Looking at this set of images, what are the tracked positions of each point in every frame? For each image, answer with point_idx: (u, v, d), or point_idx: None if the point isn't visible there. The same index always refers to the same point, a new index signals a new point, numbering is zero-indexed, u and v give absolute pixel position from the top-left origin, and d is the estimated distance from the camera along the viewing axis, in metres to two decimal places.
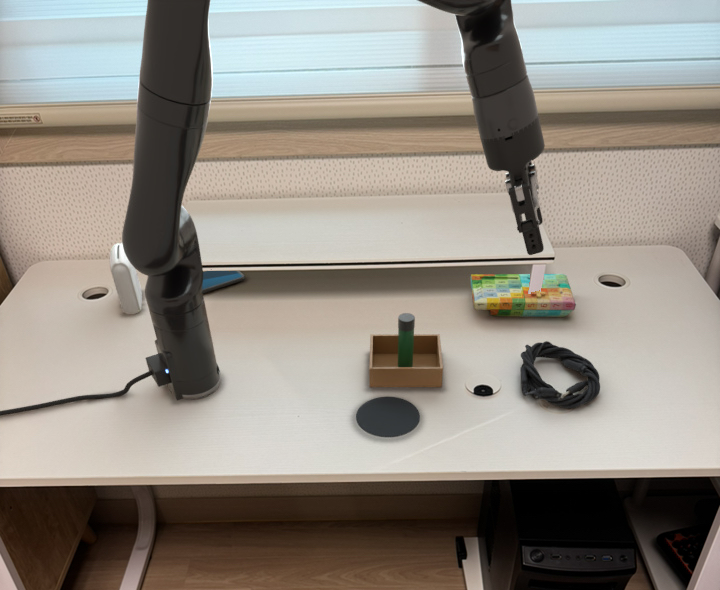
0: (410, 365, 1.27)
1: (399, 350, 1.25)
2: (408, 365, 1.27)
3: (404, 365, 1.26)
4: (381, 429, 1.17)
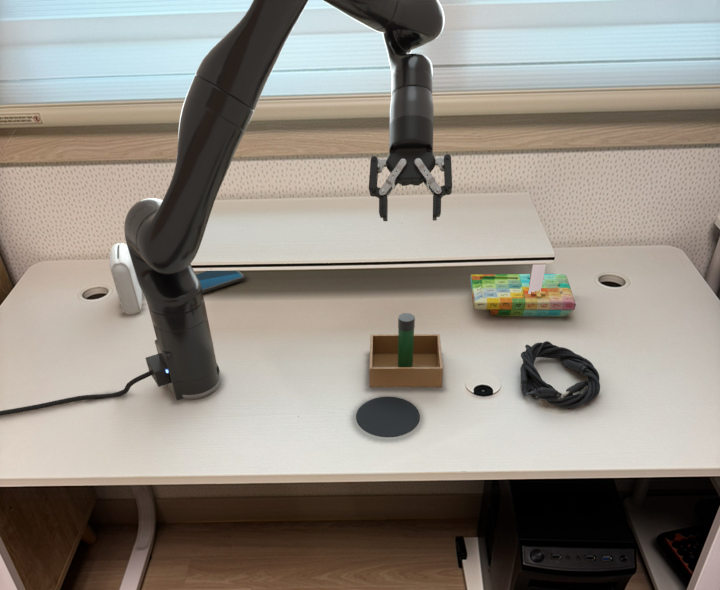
0: (410, 365, 1.27)
1: (399, 350, 1.25)
2: (408, 365, 1.27)
3: (404, 365, 1.26)
4: (381, 429, 1.17)
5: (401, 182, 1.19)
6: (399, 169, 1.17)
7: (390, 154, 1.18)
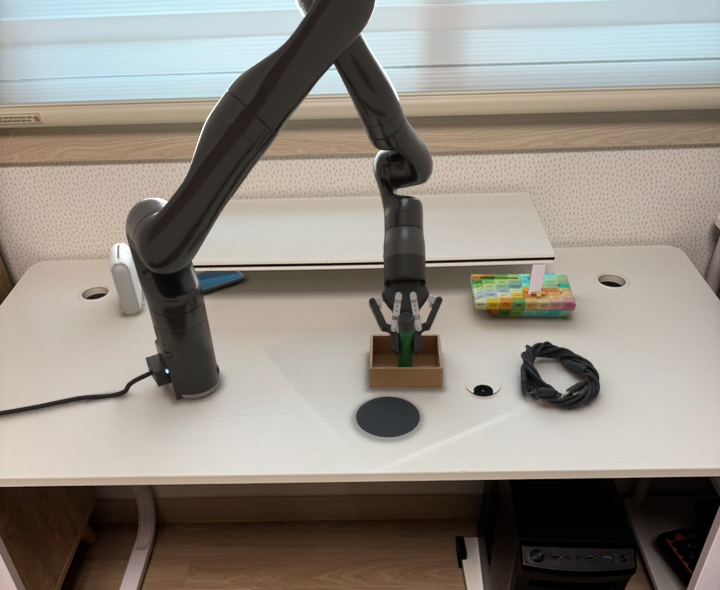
0: (410, 365, 1.27)
1: (399, 350, 1.25)
2: (408, 365, 1.27)
3: (404, 365, 1.26)
4: (381, 429, 1.17)
5: None
6: (398, 303, 1.22)
7: (386, 287, 1.23)
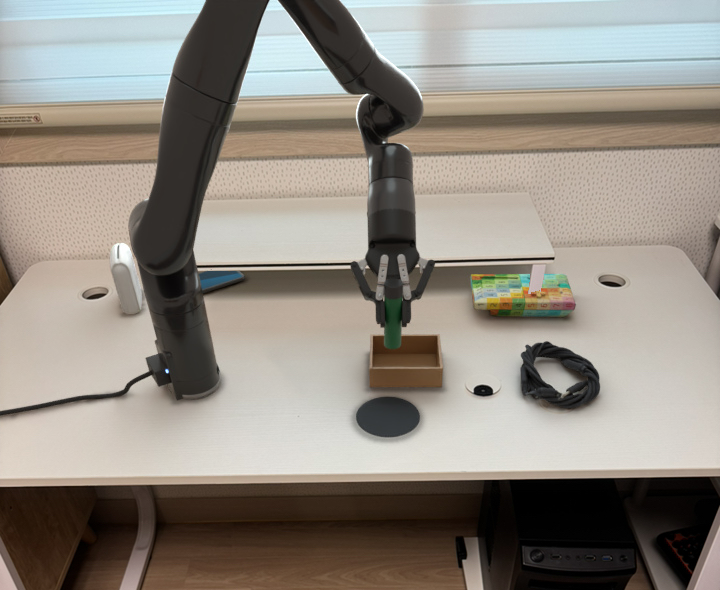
0: (398, 339, 1.11)
1: (385, 322, 1.09)
2: (396, 339, 1.10)
3: (391, 339, 1.10)
4: (381, 429, 1.17)
5: None
6: (384, 267, 1.06)
7: (370, 249, 1.07)
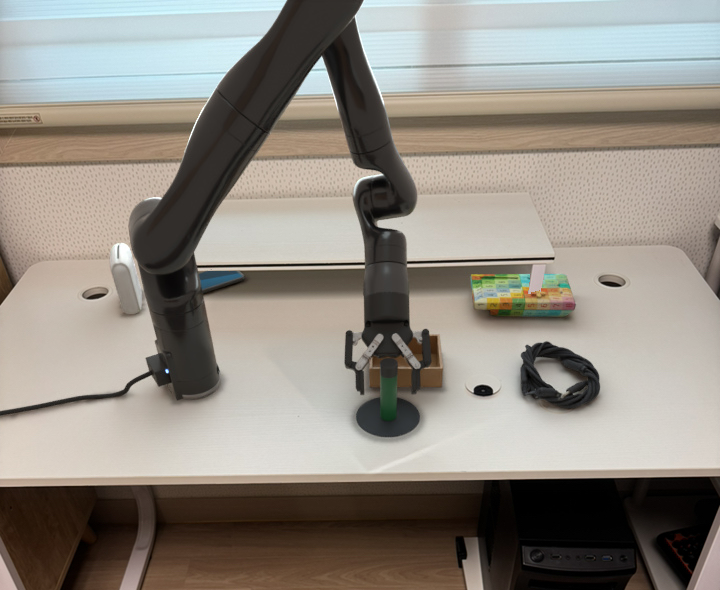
0: (394, 412, 1.17)
1: (381, 397, 1.15)
2: (391, 413, 1.17)
3: (387, 413, 1.17)
4: (381, 429, 1.17)
5: (378, 356, 1.14)
6: (376, 344, 1.12)
7: (366, 328, 1.13)
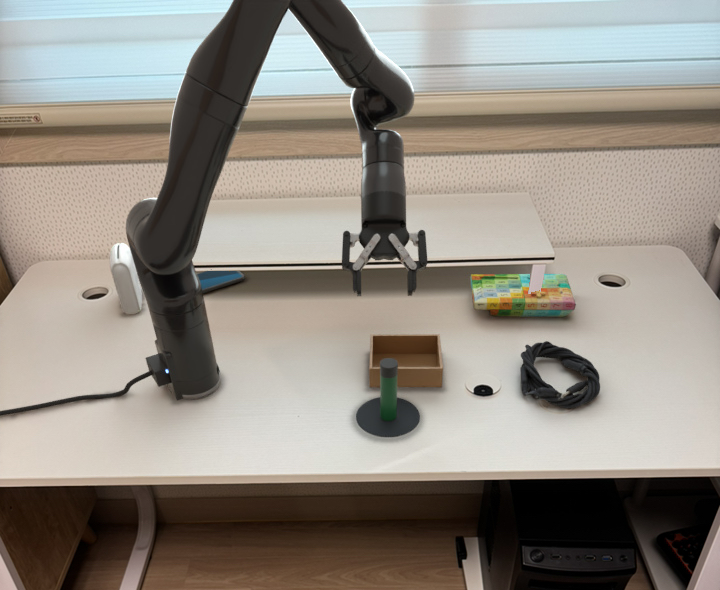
0: (394, 412, 1.17)
1: (381, 397, 1.15)
2: (391, 413, 1.17)
3: (387, 413, 1.17)
4: (381, 429, 1.17)
5: (375, 257, 1.15)
6: (373, 244, 1.14)
7: (363, 229, 1.15)
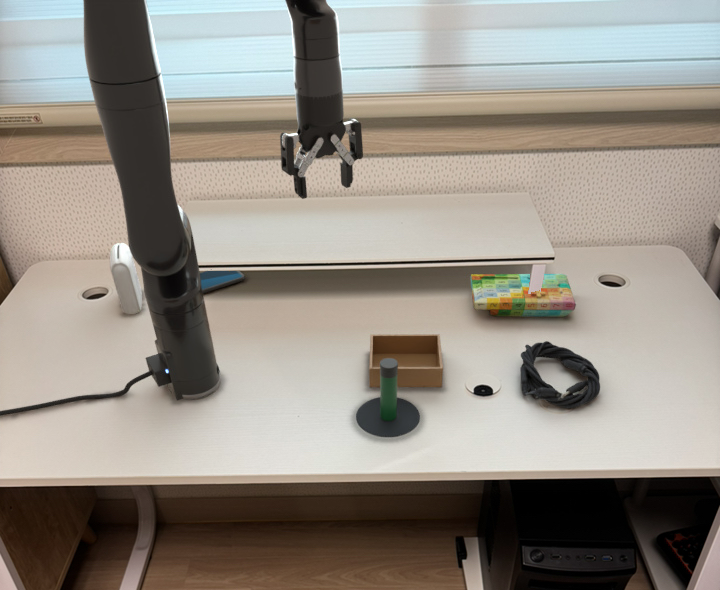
0: (394, 412, 1.17)
1: (381, 397, 1.15)
2: (391, 413, 1.17)
3: (387, 413, 1.17)
4: (381, 429, 1.17)
5: None
6: (316, 149, 1.12)
7: (304, 131, 1.10)
